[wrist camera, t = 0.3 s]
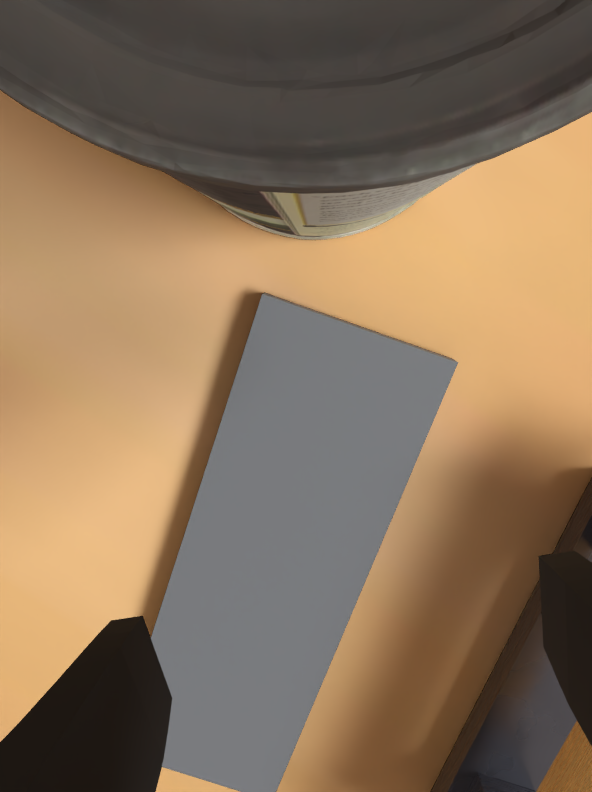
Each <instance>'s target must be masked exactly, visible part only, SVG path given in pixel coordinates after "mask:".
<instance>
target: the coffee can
mask: <svg viewBox="0 0 592 792" xmlns="http://www.w3.org/2000/svg"><path fill="white" fill-rule="evenodd" d="M0 90H1V91H2V92H4V93H5V94H7V95H8V96H10V97H11V98H12V99H14V100H15V101H17V102H18V103H20V104H21V105H23V106H24V107H26V108H28V109H29V110H31V111H33V112H34V113H36V114H38V115H40V116H41V117H43V118H45V119H47V120H48V121H50V122H52V123H54V124H56V125H58V126H59V127H61V128H63V129H65V130H67V131H68V132H70V133H72V134H74V135H76V136H78V137H80V138H82V139H84V140H86V141H88V142H90V143H92V144H94V145H96V146H98V147H101V148H103V149H105V150H108V151H110V152H113V153H115V154H117V155H120V156H122V157H124V158H127V159H129V160H131V161H134V162H136V163H139V164H141V165H144V166H147V167H151V168H154V169H158V170H161V171H163V172H165V173H166V174H168V175H170V176H172V177H173V178H175V179H177V180H179V181H180V182H182V183H184V184H186V185H188V186H190V187H192V188H193V189H195V190H197V191H198V192H200V193H202V194H203V195H205V196H207V197H208V198H210V199H212V200H213V201H215V202H217V203H219V204H220V205H221V206H222V207H224V208H225V209H226V210H227V211H228V212H230V213H232V214H233V215H235V216H237V217H238V218H240V219H241V220H243V221H245V222H247V223H249V224H251V225H253V226H255V227H257V228H259V229H262V230H265V231H268V232H271V233H274V234H278V235H282V236H286V237H292V238H296V239H305V240H322V239H332V238H340V237H345V236H349V235H353V234H357V233H360V232H363V231H366V230H369V229H371V228H373V227H376V226H378V225H380V224H382V223H384V222H386V221H388V220H390V219H391V218H393V217H395V216H396V215H398V214H399V213H401V212H402V211H404V210H405V209H407V208H408V207H410V206H411V205H413V204H414V203H415V202H416V201H417V200H418V199H420V198H422V197H424V196H425V195H427V194H428V193H430V192H431V191H433V190H434V189H436V188H437V187H439V186H441V185H442V184H444V183H446V182H447V181H449V180H451V179H452V178H454V177H455V176H457V175H459V174H460V173H462V172H464V171H465V170H467V169H469V168H470V167H472V166H474V165H475V164H477V163H480V162H483V161H486V160H489V159H492V158H495V157H497V156H499V155H501V154H504V153H506V152H508V151H511V150H513V149H515V148H517V147H520V146H522V145H524V144H526V143H529V142H531V141H533V140H536V139H538V138H540V137H542V136H545V135H547V134H549V133H552V132H554V131H556V130H558V129H560V128H561V127H563V126H565V125H567V124H569V123H571V122H573V121H575V120H577V119H579V118H581V117H583V116H585V115H587V114H589V113H591V112H592V0H0Z"/></svg>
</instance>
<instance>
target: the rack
mask: <svg viewBox="0 0 592 792" xmlns="http://www.w3.org/2000/svg"><path fill="white" fill-rule="evenodd" d="M569 551H576V552H577V553H579V554H580V555H582V556H583V557H585V558H586V559H588V560H589V561H590V562H592V478H591V480H590V482H589V484H588V486H587V488H586V490H585V492H584V494H583V496H582V498H581V499H580V501H579V503H578V505H577V507H576V509H575V511H574V513H573V515H572V517H571V519H570V521H569V523H568V525H567V527H566V529H565V531H564V533H563V535H562V537H561V539H560V540H559V542H558V544H557V546H556V548H555V550H554V552H553V554H555V553H562V552H569ZM576 721H577V719H576V718H575V716H574V714H573V712H572V710H571V709H570V707H569V705H568V703H567V700H566V698H565V696H564V694H563V691H562V689H561V687H560V685H559V682H558V680H557V678H556V675H555V673H554V671H553V668H552V666H551V664H550V661H549V659H548V656H547V654H546V652H545V649H544V647H543V629H542V610H541V590H540V579H539V581H538V583H537V585H536V587H535V589H534V591H533V593H532V595H531V597H530V599H529V601H528V603H527V605H526V607H525V609H524V611H523V613H522V615H521V617H520V619H519V620H518V622H517V624H516V626H515V628H514V630H513V632H512V634H511V636H510V638H509V640H508V642H507V644H506V646H505V648H504V650H503V652H502V654H501V656H500V658H499V660H498V661H497V663H496V665H495V667H494V669H493V671H492V673H491V675H490V677H489V679H488V681H487V683H486V685H485V687H484V689H483V691H482V693H481V695H480V697H479V699H478V700H477V702H476V704H475V706H474V708H473V710H472V712H471V714H470V716H469V718H468V720H467V722H466V724H465V726H464V728H463V730H462V732H461V734H460V736H459V738H458V740H457V741H456V743H455V745H454V747H453V749H452V751H451V753H450V755H449V757H448V759H447V761H446V763H445V765H444V767H443V769H442V771H441V773H440V775H439V777H438V779H437V781H436V782H435V784H434V786H433V788H432V790H431V792H536V791H537V789H538V787H539V786H540V784H541V782H542V781H543V779H544V777H545V775H546V774H547V772H548V770H549V768H550V767H551V765H552V763H553V761H554V760H555V758H556V756H557V754H558V753H559V751H560V749H561V747H562V746H563V744H564V742H565V740H566V739H567V737H568V735H569V733H570V732H571V730H572V728H573V726H574V725H575V723H576Z"/></svg>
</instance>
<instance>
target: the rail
mask: <svg viewBox="0 0 592 792" xmlns="http://www.w3.org/2000/svg"><path fill="white" fill-rule="evenodd" d="M536 792H592V746H591V744H590V743H589V741H588V739H587V737H586V736H585V734H584V732H583V730H582V728H581V727H580V725H579V723H578V721H576V723H575V725H574V726H573V728H572V730H571V732H570V733H569V735H568V737H567V739H566V740H565V742H564V744H563V746H562V747H561V749H560V751H559V753H558V754H557V756H556V758H555V760H554V761H553V763H552V765H551V767H550V768H549V770H548V772H547V774H546V775H545V777H544V779H543V781H542V782H541V784H540V786H539V787H538V789H537V791H536Z"/></svg>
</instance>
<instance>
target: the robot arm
mask: <svg viewBox="0 0 592 792" xmlns="http://www.w3.org/2000/svg"><path fill="white" fill-rule="evenodd" d="M539 571H540V590H541V610H542V629H543V647H544V649H545V652H546V654H547V656H548V659H549V661H550V664H551V666H552V668H553V671H554V673H555V675H556V678H557V680H558V682H559V685H560V687H561V689H562V691H563V694H564V696H565V698H566V700H567V703H568V705H569V707H570V709H571V710H572V712H573V714H574V716H575V718H576V719H577V721H578V723H579V725H580V727H581V728H582V730H583V732H584V734H585V736H586V737H587V739H588V741H589V743H590V744H591V746H592V562H590V561H589V560H588V559H586V558H585V557H583V556H582V555H580V554H579V553H577V552H576V551H569V552H562V553H555V554H549V555H542V556H539ZM171 705H172V696H171V693H170V690H169V688H168V685H167V682H166V679H165V676H164V674H163V671H162V668H161V665H160V663H159V660H158V657H157V654H156V652H155V649H154V646H153V643H152V641H151V638H150V635H149V632H148V629H147V627H146V624H145V621H144V618H143V616H139V617H132V618H125V619H119V620H112V621H110V622H109V623H108V625H107V626H106V627H105V628H104V629H103V630H102V631H101V632H100V633H99V634H98V635H97V636H96V637H95V638H94V640H93V641H92V642H91V643H90V644H89V645H88V646H87V647H86V649H85V650H84V651H83V652H82V653H81V654H80V655H79V656H78V658H77V659H76V660H75V661H74V662H73V663H72V664H71V666H70V667H69V668H68V669H67V670H66V671H65V672H64V673H63V675H62V676H61V677H60V678H59V679H58V680H57V681H56V682H55V684H54V685H53V686H52V687H51V688H50V689H49V690H48V691H47V692H46V694H45V695H44V696H43V697H42V698H41V699H40V700H39V701H38V702H37V704H36V705H35V706H34V707H33V708H32V709H31V710H30V711H29V712H28V714H27V715H26V716H25V717H24V718H23V719H22V720H21V721H20V722H19V723H18V724H17V726H16V727H15V728H14V729H13V730H12V731H11V732H10V733H9V734H8V735H7V736H6V737H5V738H4V739H3V740H2V741H1V742H0V792H155V791H156V787H157V783H158V780H159V776H160V772H161V768H162V763H163V759H164V753H165V747H166V741H167V734H168V728H169V720H170V712H171Z"/></svg>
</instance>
